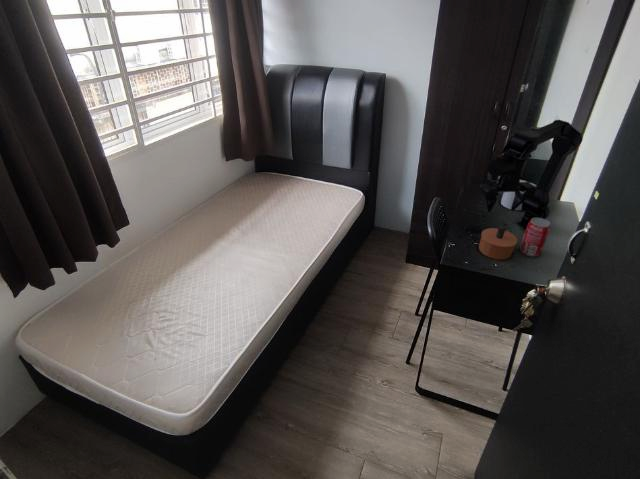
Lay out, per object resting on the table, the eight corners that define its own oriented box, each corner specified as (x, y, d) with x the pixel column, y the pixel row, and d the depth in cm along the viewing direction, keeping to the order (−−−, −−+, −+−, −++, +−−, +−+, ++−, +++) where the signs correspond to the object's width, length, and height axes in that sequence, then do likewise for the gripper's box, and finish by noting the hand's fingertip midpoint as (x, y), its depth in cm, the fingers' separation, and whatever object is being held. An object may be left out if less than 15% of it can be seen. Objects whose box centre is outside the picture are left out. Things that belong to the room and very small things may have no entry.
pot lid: (504, 229, 145) (508, 217, 142) (523, 247, 135) (527, 235, 132) (474, 232, 143) (478, 220, 140) (492, 250, 133) (496, 238, 130)
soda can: (542, 259, 138) (555, 228, 130) (521, 256, 139) (532, 226, 132) (537, 247, 144) (549, 218, 136) (516, 245, 145) (527, 215, 137)
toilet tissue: (495, 200, 174) (501, 180, 169) (518, 197, 177) (525, 177, 171) (510, 211, 166) (517, 191, 160) (534, 208, 168) (542, 188, 163)
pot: (500, 240, 147) (504, 228, 144) (517, 258, 138) (522, 245, 135) (473, 243, 146) (476, 231, 143) (488, 261, 136) (493, 248, 133)
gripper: (524, 160, 139) (511, 199, 148) (476, 162, 136) (466, 201, 145) (544, 173, 130) (529, 213, 138) (492, 175, 127) (481, 216, 136)
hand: (500, 210), depth 140 cm, fingers open, 9 cm apart
